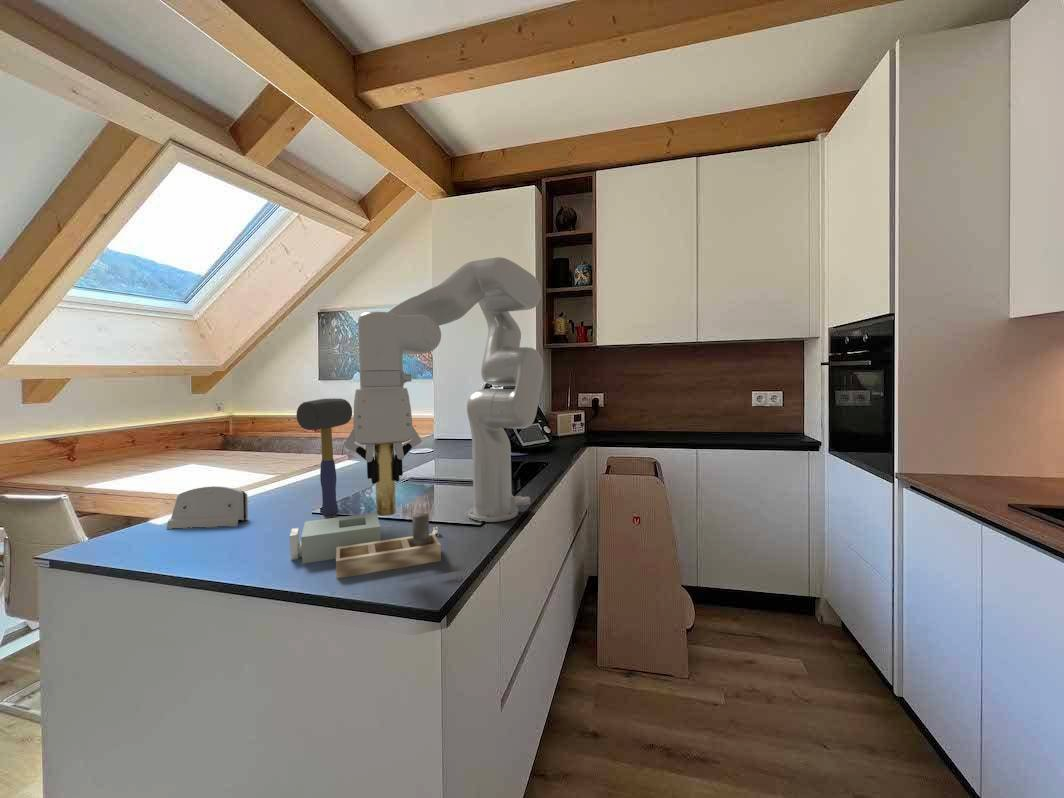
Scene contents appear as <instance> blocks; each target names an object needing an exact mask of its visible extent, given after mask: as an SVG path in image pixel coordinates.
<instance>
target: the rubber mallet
mask: <svg viewBox="0 0 1064 798" xmlns="http://www.w3.org/2000/svg"><path fill="white" fill-rule="evenodd" d="M352 417H353V408H352V406H351V404H350V402H349V401H348V400H346V399H344V398H320V399H315V400H309V401H304V402H302V403H301V404H299V406H298V408H297V409H296V420H297V423H298V425H299V426H300V427H301V428H302V429H304V430H307V431H313V430H315V431H316V430H317V431H318V430H320V438H321V439H320V440H321V462H320V470H319V471H320V472H319V473H320V477H319V478H320V479H319V480H320V486H321V493H322V494H321V496H322V499H321V500H322V505H321V514H322V516H323V518H324V517H326V518H325V519H329V517H333V518H335V517H337V515H338V513H339V506H338V502H337V470H336V463H335V461H334V451H333V450H334V448H333V433H332V428H336V427H339V426H340V427H341V426H344V425H346V424H348V423H349V422H350V421H351V420H352ZM334 516H335V517H334Z"/></svg>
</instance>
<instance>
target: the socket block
mask: <svg viewBox="0 0 1064 798" xmlns="http://www.w3.org/2000/svg"><path fill="white" fill-rule="evenodd" d="M381 538H382V537H381V524H380V521H379V515H377V512H370V513H363V514H355V515H354V514H353V515H345V516H338V517H337V516H336V517H333V518H322V519H316V520H315V519H314V520H305V521H304V525H303V528H302V532H301V536H300V539H301V540H300V542H301V545H302V557H301V558H302V559H301V561H302V565H304V564H309V563H317V562H323V561H330V560H334V559H335V560H336V547H341V546H348V545H355V544H362V543H369V542H376V541H382V540H381Z"/></svg>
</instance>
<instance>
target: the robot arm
mask: <svg viewBox="0 0 1064 798" xmlns="http://www.w3.org/2000/svg"><path fill="white" fill-rule="evenodd" d="M541 299H542V287H541V285H540V283H539V281H538V279H537V278H536V276H534V274H532V273H531V272H529V271H528V270H526V269H525V268H523V267H522V266H520V265H519V264H518V263H515V262H514V261H512V260H510V259H508V258H506V257H499V256H497V257H492V258H486V259H485V258H484V259H478V260H472V261H468V262H466V263H463V265H461V266H459V267H458V268H457V269H456V270H454V271H453V272H452V273H451V274H449V275H448V276H447V277H446V278H445V279H443V280H442V281H441V282H439V283H438V284H437V285H435V286H433V287H430V288H429V289H426V290H424V291H421V292H419V293H418V294H415V295H414V296H412V297H410V298H408V299H406V300H403V301H401V302H400V303H397V304H396V305H395V306H393V307H392V308H390V309H389V310H388V311H387V310H386V311H368V312H367V311H366V312H363V313H361V314H360V315H359V316H358V321H357V328H358V329H357V330H358V331H357V332H358V336H357V337H358V357H359V359H358V363H359V365H358V366H359V386H360V387H359V388H358V389H357V388H356V389H355V394H354V401H353V429H352V430H351V432H350V434H349V436H348V438H347V439H346V441H345V442H344V448H345V449H348V450H350V451H352V452H354V453H356V454H358V455H359V456H360V457H361V458H362V459H364V460H365V461H366V472H367V473H366V474H367V475H366V476H367V477H366V478H367V479H368V480H370V479H371V484H372V485H373V484H374V485H376V462H375V456H374V452H375V451H374V444H387V443H394V473H395V483H396V482H400V477H401V476H403V474H404V473H403V472H404V471H403V459H404V458H405V456H406V455H407V454H408V453H409V452H410V451H411V450H412V449H413V448H415V447H416V446H418V445H419V444H421V443H422V439H421V437H420V435H419V434H418V432H417V431H416V429H415V428H414V426H413V416H412V407H411V402H410V396H409V395H410V394H409V392H408V391H409V390H408V387H404V386H405V384H406V383H409V382H412V374H411V373H409V374H407V373H405V372H404V365H403V363H404V361H403V355H404V356H405V355H406V356H407V355H409V356H410V355H423V354H428V353H430V352H432V351H434V350H435V349H436V348H437V347H438V346H439V345H440V343H441V340H442V332H441V328H440V326H443V325H447V324H450V323H453V322H455V321H457V320H459V319H461V318H463V317H464V316H465V315H467V313H469V312H470V310H471V309H472V308H473V307H475V305H477V304H478V305H479V307H480V310H481V311H482V313H483V316H484V318H485V320H486V323H487V324H486V325H487V327H488V328H487V329H488V332H487V339H486V343H485V348H484V352H483V353H484V355H483V359H482V364H481V369H480V370H481V372H480V374H481V379H482V380H483V381H484V382H485V383H486V384H487V385H490V386H499V387H500V386H504V387H507V386H508V387H512V386H513V387H515V388H482V389H478V390H476V391H474V392H473V393H471V394H470V396H469V398H468V400H467V404H466V411H467V412H466V413H467V418H468V423H469V426H470V427H469V428H470V433H471V443H472V444H471V448H472V449H471V451H472V456H471V457H472V479H473V480H472V484H473V485H472V486H473V506H472V507H471V508H469V509H468V511H467V517H468V518H469V519H470V518H471V519H470V520H472V519H474V520H473V521H475V520H481V521H485V522H484V523H497V522H505V521H509V520H512V519H514V518H515V517H517V516H518V514H519V509H518V507H519V506H522V505H523V506H525V505H526V506H527V505H530V504H531V498H530V496H522V495H518V496H517V495H516V496H514V495H513V494H512V461H511V460H512V459H511V455H512V454H511V453H512V451H511V450H512V449H511V448H512V447H511V441H510V438H509V436H508V435H507V432H506V430H505V429H519V430H520V429H527V428H529V427H531V425H532V424H533V423H534V422H535V420H536V416H537V412H538V407H539V400H540V396H541V390H542V386H543V385H542V384H543V380H544V378H543V377H544V362H543V358H542V356H541V354H540V353H539V351H538V350H536V349H535V348H533V347H528V346H527V347H526V346H525V347H524V346H523V347H520V346H521V340H522V331H521V328H520V327H519V325H518V323H517V322H516V321H515V319H514V317H513V316H512V315H511V314H510V312H516V311H517V312H519V311H527V310H528V311H529V310H532V309H534V308H536V307H537V306H538V305H539V303H540V301H541ZM355 442H356V443H355ZM403 443H404V444H403ZM361 445H362V446H361ZM364 445H365V448H364V447H363V446H364ZM481 521H480V522H481Z"/></svg>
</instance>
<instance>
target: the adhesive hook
mask: <svg viewBox="0 0 1064 798" xmlns="http://www.w3.org/2000/svg"><path fill="white" fill-rule="evenodd" d="M432 533H434V534H435V536H436V537H439V527H438V526H433V530H432ZM436 534H437V535H436Z"/></svg>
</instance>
